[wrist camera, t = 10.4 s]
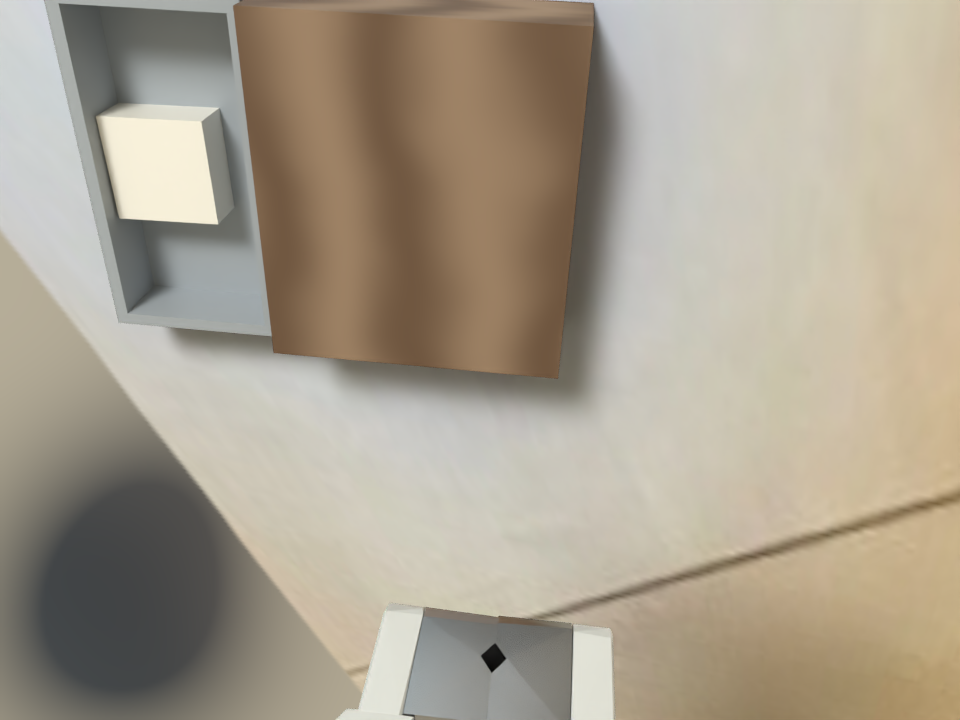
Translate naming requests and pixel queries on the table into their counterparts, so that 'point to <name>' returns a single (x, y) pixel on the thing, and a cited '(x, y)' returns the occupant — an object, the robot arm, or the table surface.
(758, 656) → the table surface
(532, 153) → the walnut block
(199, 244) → the box
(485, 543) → the table surface
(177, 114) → the tile
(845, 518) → the table surface
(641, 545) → the table surface
